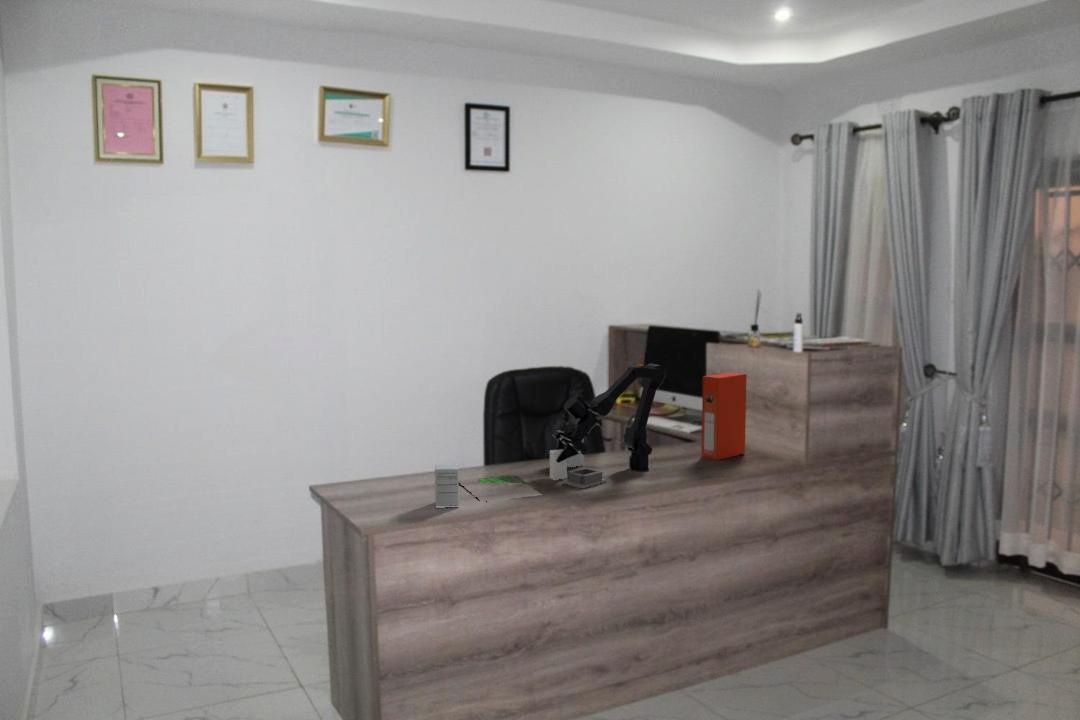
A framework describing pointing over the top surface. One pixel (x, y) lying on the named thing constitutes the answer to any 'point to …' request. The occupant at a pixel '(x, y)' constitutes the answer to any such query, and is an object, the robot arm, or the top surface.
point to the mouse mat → (502, 480)
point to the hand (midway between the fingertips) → (554, 460)
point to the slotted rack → (584, 477)
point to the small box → (576, 459)
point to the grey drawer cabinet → (446, 485)
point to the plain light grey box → (557, 466)
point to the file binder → (723, 415)
